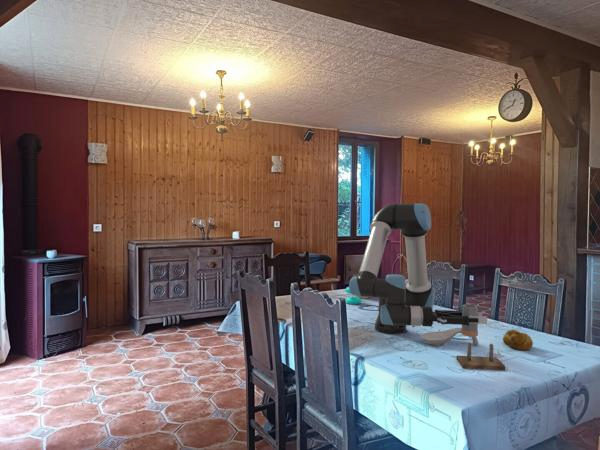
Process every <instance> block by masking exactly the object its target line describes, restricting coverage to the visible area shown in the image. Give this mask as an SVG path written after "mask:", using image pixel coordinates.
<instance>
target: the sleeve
mask: <svg viewBox="0 0 600 450" xmlns="http://www.w3.org/2000/svg"><path fill="white" fill-rule="evenodd" d="M461 310H462V316H478V313H479V307H478V305H475V304H462V306H461ZM478 327H479V324H471V323H469V326H467V325H461V328H462V331H461V332H460V333H461V335H462V336H465V337H468V338H469V337H471V338H472V337H478V336H479V332H478V331H479V330H478Z"/></svg>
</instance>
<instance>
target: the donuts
mask: <svg viewBox="0 0 600 450" xmlns="http://www.w3.org/2000/svg"><path fill="white" fill-rule="evenodd" d="M345 292H346V293H348V294H350V295H352V294H351V293H350V290H349V286H347V287H346V288H345ZM345 302H347V303H346V304H348V305H359V304H361V303H362V299H361V298H358V297H356V296H348V297H346V298H345Z"/></svg>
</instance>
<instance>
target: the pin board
mask: <svg viewBox="0 0 600 450" xmlns="http://www.w3.org/2000/svg"><path fill="white" fill-rule="evenodd" d="M466 346H467V348H466V349H467V351H466V353H467V354H466V355H458V354H457V355H456V361H457V362H458V363H459V365H460V366H461V368H462V369H465V370H466V369H467V370H489V371H506V369H507V368H506V365H505V364H504V363H503V362H502V361H501V360H500V359H499V358H498V357H497V356H494V344H493V343H489V345H488V348H489V350H488V351H489V353H488V354H489V355H488V356H478V355H477V356H476V355H475V356H474V355H472V343H471V342H468V343H467V345H466Z"/></svg>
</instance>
